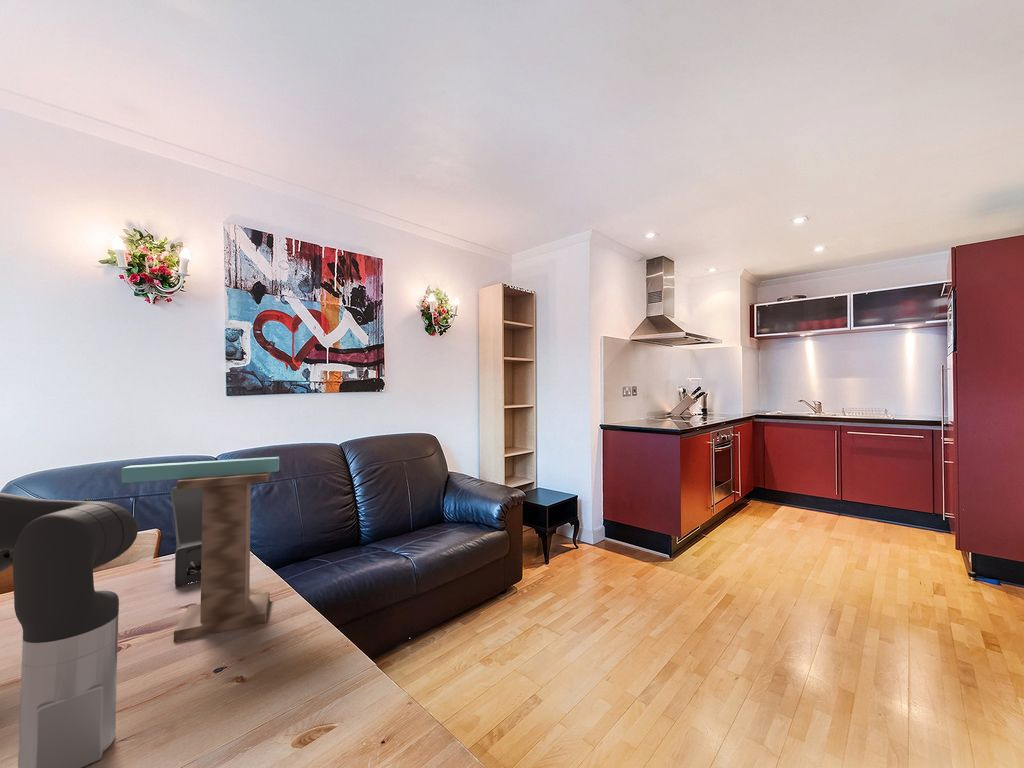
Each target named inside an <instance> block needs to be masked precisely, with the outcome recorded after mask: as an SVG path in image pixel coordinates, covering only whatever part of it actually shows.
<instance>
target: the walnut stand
mask: <svg viewBox="0 0 1024 768" xmlns="http://www.w3.org/2000/svg"><path fill="white" fill-rule="evenodd" d="M271 475H272V472H264V473H250V474H237V475H223V476H210V477H196V478H183V479H178V480H177V481H176V487H177V489H187V488H199V487H203V499H202V555H201V581H200V604H195V605H190V606H189V605H188V607H187V609H185V610H186V611H185V612H184V613H183V615H182V616H181V618H180V620H179V622H178V624H177V626H176V628H175V629H174V631H173V642H177V641H183V640H187V639H191V638H196V637H198V638H199V637H201V636H202V637H203V636H207V635H210V634H211V635H212V634H216V633H221V632H227V631H230V630H235V629H236V630H237V629H241V628H246V627H249V626H257V625H260V624H265V623H266V620H267V616H268V609H269V604H270V591H266V592H261V593H256V594H251V595H250V582H251V581H250V579H251V578H250V577H251V570H250V569H251V568H250V567H251V566H250V565H251V562H250V561H251V506H252V503H251V502H252V500H251V499H252V497H251V496H252V495H251V494H252V493H251V491H252V488H251V487H252V484H256V483H258V484H259V483H267V482H268V481H269V478H270V477H271Z"/></svg>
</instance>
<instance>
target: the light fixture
mask: <svg viewBox="0 0 1024 768" xmlns="http://www.w3.org/2000/svg"><path fill="white" fill-rule="evenodd" d="M169 494H170V498H171V499H170V500H171V504H172V510H173V518H174V527H175V542H176V543H175V545H176V549H175V551H174V552H175V553H174V585H175V587H177V588H180V587H183V585H184V586H187V584H188V583H189V584H188V585H191V584H190V583H191V582H196V581H197V582H196V583H198V581H200V582H201V555H202V499H203V487H199V488H187V489H177V486H174V487H172V488H171V491H170V493H169ZM179 586H180V587H179Z"/></svg>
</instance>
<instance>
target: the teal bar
mask: <svg viewBox="0 0 1024 768" xmlns="http://www.w3.org/2000/svg"><path fill="white" fill-rule="evenodd" d="M279 470H280V456H269V457H255V458H254V457H252V458H236V459H235V458H234V459H223V460H222V459H221V460H219V459H218V460H200V461H187V462H186V461H185V462H171V463H170V462H168V463H153V464H139V465H137V464H135V465H133V464H132V465H128V466H124V467H122V468H121V481H120V482H121V484H127V483H128V484H129V483H138V482H139V483H140V482H154V481H165V480H168V481H170V480H180V479H183V478H196V477H210V476H223V475H237V474H250V473H264V472H271V473H275V472H277V473H278V472H279Z"/></svg>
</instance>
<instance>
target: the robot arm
mask: <svg viewBox="0 0 1024 768" xmlns="http://www.w3.org/2000/svg"><path fill="white" fill-rule="evenodd" d="M138 532H139V528H138V522H137V521H136V519H135V517H134V516H133V515H132V513H131V512H130V511H128V509H126V508H124V507H123V506H120V505H119V504H116V503H113V502H107V501H95V500H94V501H93V500H91V499H90V498H86V499H84V500H67V499H66V500H61V499H48V498H47V499H43V498H37V497H36V498H35V497H29V496H22V495H18V494H12V493H6V492H0V573H1V572H3V571H5V570H7V569H9V568H10V567H12V576H13V577H12V578H13V579H12V580H13V581H12V582H13V600H14V601H13V603H14V604H13V605H14V606H13V607H14V613H15V616H16V618H17V620H18V622H19V624H20V625H21V629H22V641H21V642H22V647H21V666H20V667H21V669H20V671H21V672H20V695H19V718H18V719H19V721H18V722H19V723H18V749H17V751H18V752H17V753H18V754H17V768H84V767H86V766H89V765H90V764H93V763H95V762H97V761H100V760H102V759H103V754H104V752H105V751H106V750H107V749H108V748H109V747H110V746H111V745H112V744H113V742H114V741H115V738H116V728H117V725H116V724H117V722H116V721H117V720H116V719H117V718H116V717H117V688H118V687H117V685H118V684H117V678H118V651H119V650H118V643H119V642H118V641H119V614H120V613H119V611H120V599H119V595H118V593H116V592H114V591H111V590H95V583H94V570H95V569H97V568H99V567H102V566H104V565H106V564H108V563H110V562H112V561H113V560H115V559H117V558H119V557H120V556H121V555H122V554H124V553H125V552H127V551H128V550H129V549H130V548H131V547H132V545H133V544H134V542H135V541H136V539H137V537H138Z"/></svg>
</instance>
